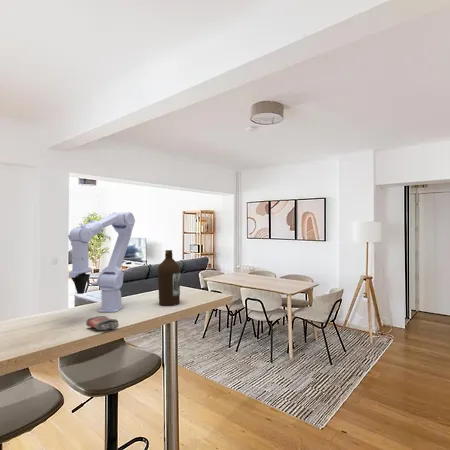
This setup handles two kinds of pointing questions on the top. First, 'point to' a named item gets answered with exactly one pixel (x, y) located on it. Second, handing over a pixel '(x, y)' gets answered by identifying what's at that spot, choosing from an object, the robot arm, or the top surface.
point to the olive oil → (169, 281)
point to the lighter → (102, 323)
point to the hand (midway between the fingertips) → (80, 293)
